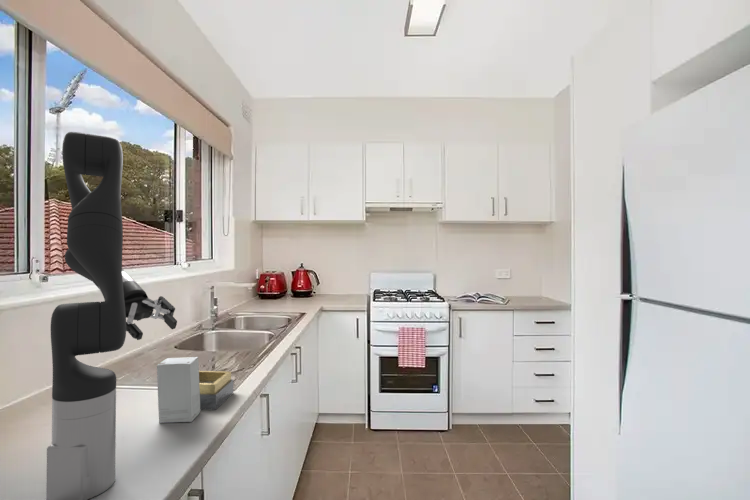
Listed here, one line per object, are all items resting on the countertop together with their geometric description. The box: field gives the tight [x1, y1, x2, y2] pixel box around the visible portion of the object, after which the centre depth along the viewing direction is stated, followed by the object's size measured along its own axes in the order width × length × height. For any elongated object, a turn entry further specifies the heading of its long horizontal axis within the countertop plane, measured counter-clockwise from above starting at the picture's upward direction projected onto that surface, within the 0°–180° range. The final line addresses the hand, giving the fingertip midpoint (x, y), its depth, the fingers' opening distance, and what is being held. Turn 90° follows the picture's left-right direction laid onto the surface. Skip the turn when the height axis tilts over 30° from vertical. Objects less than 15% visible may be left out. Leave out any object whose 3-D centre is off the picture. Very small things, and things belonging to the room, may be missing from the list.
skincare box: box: [156, 356, 201, 424], centre depth 98 cm, size 8×6×15 cm
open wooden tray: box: [199, 370, 234, 411], centre depth 111 cm, size 15×14×6 cm
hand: (158, 331), depth 94 cm, fingers open, 8 cm apart
